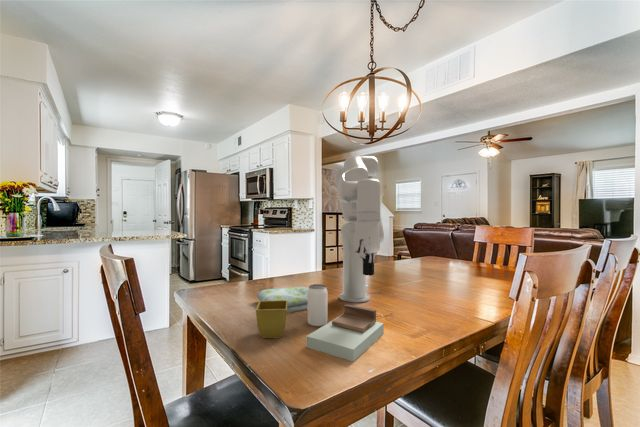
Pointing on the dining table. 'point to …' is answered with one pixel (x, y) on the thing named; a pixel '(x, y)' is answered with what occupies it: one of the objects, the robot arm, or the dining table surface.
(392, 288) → the dining table surface
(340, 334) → the well board
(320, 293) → the can
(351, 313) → the lid
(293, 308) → the towel
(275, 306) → the flower pot
